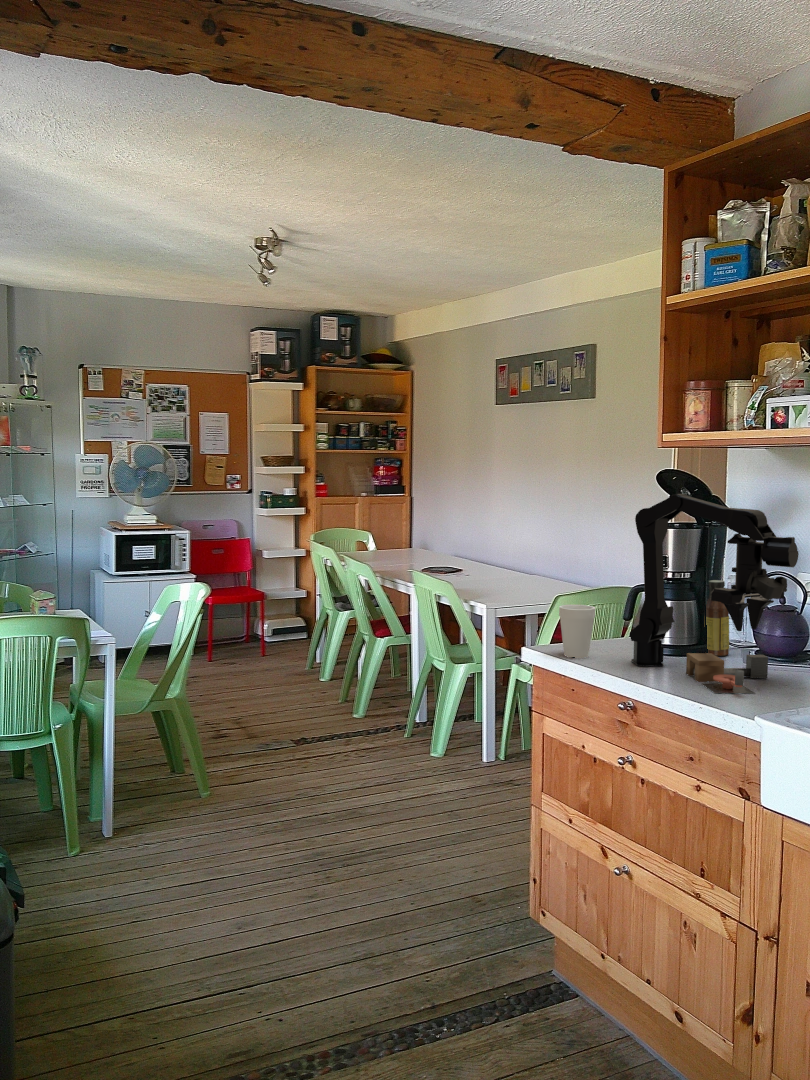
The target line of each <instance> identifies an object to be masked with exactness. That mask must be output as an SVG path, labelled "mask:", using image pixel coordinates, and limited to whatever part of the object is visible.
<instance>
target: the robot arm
mask: <svg viewBox="0 0 810 1080" xmlns="http://www.w3.org/2000/svg"><path fill="white" fill-rule="evenodd" d="M680 513H686V514H689V515H693V516H696V517H699V518H703V519H707V520H709V521H713V522H717V523H720V524H722V525H724V526H725V527H727V529H729V530H731V531H733V532H736V533H735V534H733V536H732V537H731V538H729V539H728V540H727V543H728V544H731V545H732V544H733V545H736V556H735V566H734V567H731V572H732V573H735V580H734V581H735V582H734V583H735V584H731V586H730V587H731V588H728V587H724V588H716V589H713V591H712V592H711V600H712V601H718V602H721V603H723V604H724V605H725V607H726V609H727V611H728V612H729V617H730V618H731V621H732V623H733V625H734V627H735V630H736V631H738V632H742V630H743V625H744V616H745V610H746V608H747V612H748V620H749V624H750V628H751V629H752V630H757V628H758V625H759V623H760V620H761V619H762V618H761V617H762V615H763V614H764V611H765V609H766V608H767V607H769V605H771V604H773V603H774V602H775V600H779V599H782V600H783V599H785V592H787V591H788V579H787V577H784V576H776V577H775V578H774V577H769V576H768V570H767V569H766V568H763V563H764V562H765V564H766V565H767V566H772V567H782V568H783V567H784V568H795V566H796V565H797V563H798V560H799V550H798V546H797V544H796V538H795V537H794V536H787V537H782V536H781V537H780V536H777V535H776V533H775V532H774V531H773V529H772V527H770V525H769V524H768V518H767V516H766V514H765V513H764V512H763V511H762V510H759V509H751V508H735V507H728V506H724V505H721V504H717V503H714V502H710V501H708V500H707V501H706V500H703V499H700V498H696V497H693V496H690V495H687V494H686V493H674V494H672V495H671V496H669V497H667V498H666V499H664V500H662V501H660V502H658V503H655V504H654V505H652V506H651V507H650V506H649V507H645V508H641V509H640V510H638V512H637V513H636V515H635V517H634V519H635V520H634V521H635V527H636V533H637V535H638V536H639V539H640V541H641V543H642V554H643V558H642V559H643V582H644V583H643V584H644V585H643V586H644V587H643V588H644V589H643V590H644V601H643V605H642V606H641V608H640V611H639V620H638V624H637V625H636V626H635V627H634V628H633V629H632V630H631V631H630V632H629V637H630V640H631V642H633V658H632V659H631V662H632V663H633V664H634V665H636V666H637V667H663V666H664V645H663V644H662V640H664V639H665V637H666V635H667V633H668V632H669V631H670V630H671V629H672V626H673V623H675V620H674V606H672V605H671V606H668V604H667V602H666V599H665V577H664V552H663V549H664V548H663V545H664V544H663V543H664V541H665V538H666V535H667V532H668V529H669V528H668V527H669V522H670V521H672V520H673V519H675V518H676V517H678V515H679V514H680ZM745 536H746V537H745ZM773 599H775V600H773ZM745 600H746V602H745Z"/></svg>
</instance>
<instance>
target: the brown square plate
mask: <svg viewBox="0 0 810 1080" xmlns="http://www.w3.org/2000/svg"><path fill="white" fill-rule="evenodd" d="M700 683H701V685H702V686H703V685H704V686H703V687H705V686H706V687H707V688H706V687H705V688H706V689H708V688H709V689H710V690H711V691H710V690H709V689H708V690H709V691H710V692H712V691H713V692H714V693H713V692H712V693H713V694H715V693H749V694H748V695H755V694H756V692H754V691H753V690H751V689H750V688H749V687H746V686H745V685H742V687H735V686H734V687H733V689H725V688H722V683H721V682H700Z"/></svg>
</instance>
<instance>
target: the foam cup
mask: <svg viewBox="0 0 810 1080" xmlns="http://www.w3.org/2000/svg"><path fill="white" fill-rule="evenodd" d="M558 611H559V613H558V616H559V619H560V620H559V621H560V629H561V639H562V648H563V655H566V656H568V657H567V658H569V657H575V658H574V659H585V658H584V657H587V658H588V657H589V654H590V649H591V640H592V636H593V635H592V634H593V630H594V627H593V626H594V623H595V622H594V621H595V618H596V607H595V606H593V605H587V604H562V605H559V609H558Z"/></svg>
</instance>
